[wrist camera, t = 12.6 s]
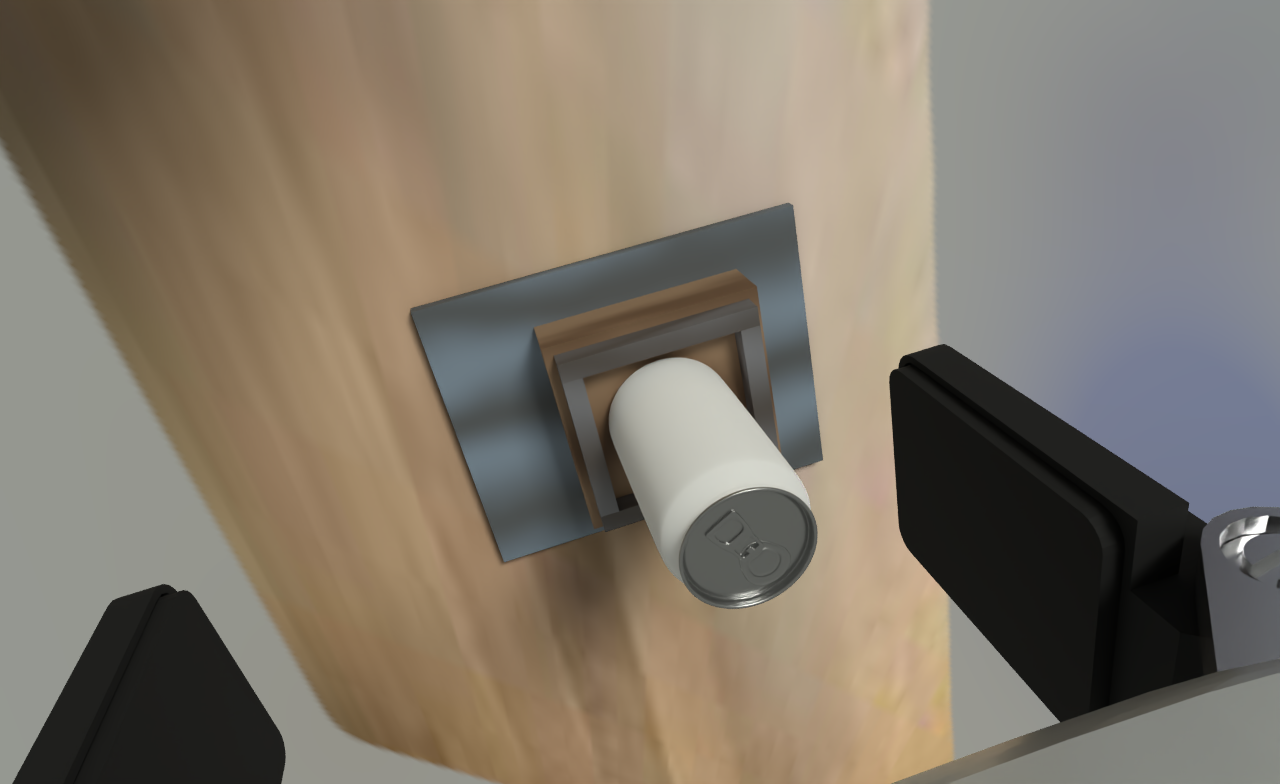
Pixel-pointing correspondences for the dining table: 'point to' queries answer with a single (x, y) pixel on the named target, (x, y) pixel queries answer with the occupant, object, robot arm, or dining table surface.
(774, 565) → the can
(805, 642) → the dining table surface
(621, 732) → the dining table surface
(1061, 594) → the robot arm
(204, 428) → the dining table surface
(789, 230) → the board
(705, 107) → the dining table surface
